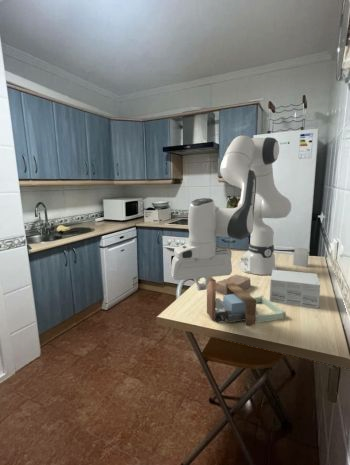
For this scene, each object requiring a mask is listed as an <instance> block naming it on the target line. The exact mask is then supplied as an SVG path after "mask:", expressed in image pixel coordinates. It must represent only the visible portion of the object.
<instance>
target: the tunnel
mask: <svg viewBox="0 0 350 465" xmlns="http://www.w3.org/2000/svg"><path fill="white" fill-rule="evenodd" d="M234 293H235V294H236V295H237V296H238V297H240V298H241V299H242V300H243V301H244V302H245V303H246V310H245V320H244V325H245V326H247V327H248V326H249V327H251V326H256V322H255V320H256V315H257V313H256V312H257V303H256V300H255V299H254V298H253V297H254V296H252V295H251V294H249V293H248V292H246V291H245V290H242V289H241V288H240V287H239V286H237V285H236V284H235V283H233V282H230V283H226V292H225V295H230V294H234Z"/></svg>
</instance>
